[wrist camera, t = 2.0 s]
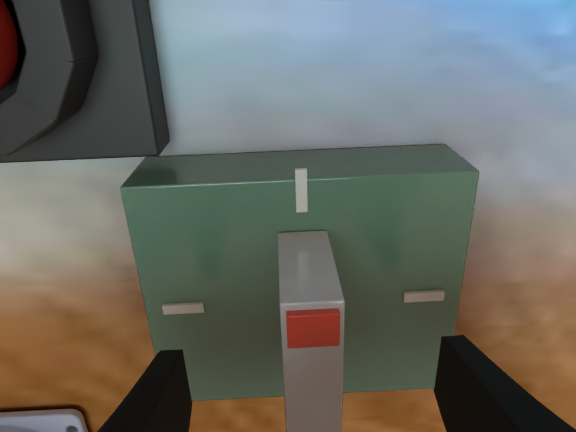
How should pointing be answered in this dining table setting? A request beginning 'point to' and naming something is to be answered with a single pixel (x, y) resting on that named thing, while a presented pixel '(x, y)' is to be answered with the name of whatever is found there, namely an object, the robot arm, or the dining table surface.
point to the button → (7, 45)
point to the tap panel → (264, 258)
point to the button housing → (82, 83)
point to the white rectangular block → (311, 332)
